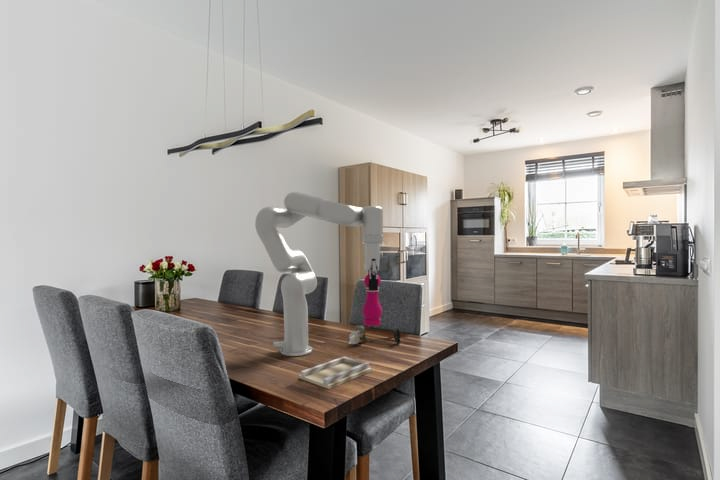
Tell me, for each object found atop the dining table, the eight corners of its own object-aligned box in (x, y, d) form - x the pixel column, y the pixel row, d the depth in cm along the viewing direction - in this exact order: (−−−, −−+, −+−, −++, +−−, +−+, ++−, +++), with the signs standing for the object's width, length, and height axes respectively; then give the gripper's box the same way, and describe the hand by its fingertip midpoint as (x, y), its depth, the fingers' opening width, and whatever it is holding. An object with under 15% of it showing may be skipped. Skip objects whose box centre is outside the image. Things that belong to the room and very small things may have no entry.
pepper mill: (375, 327, 136) (376, 270, 136) (358, 324, 140) (359, 269, 139) (385, 323, 142) (385, 269, 142) (368, 320, 146) (369, 268, 146)
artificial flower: (399, 350, 158) (395, 328, 156) (347, 353, 164) (343, 332, 162) (402, 339, 166) (398, 318, 164) (353, 342, 172) (348, 322, 170)
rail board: (329, 389, 115) (328, 380, 115) (299, 378, 124) (299, 370, 124) (371, 371, 130) (371, 363, 130) (342, 362, 139) (342, 355, 139)
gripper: (360, 239, 149) (360, 285, 149) (364, 240, 132) (363, 292, 132) (380, 239, 149) (379, 285, 150) (385, 240, 132) (385, 292, 132)
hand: (372, 288), depth 141 cm, fingers closed on pepper mill, 5 cm apart
